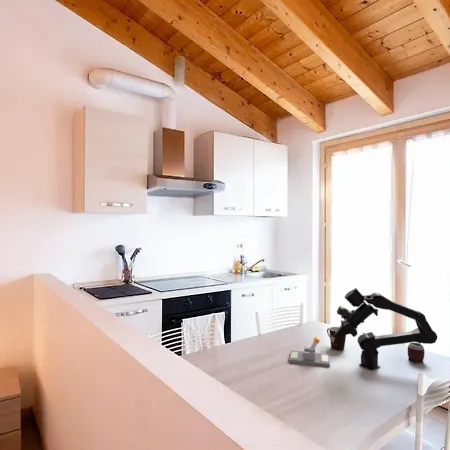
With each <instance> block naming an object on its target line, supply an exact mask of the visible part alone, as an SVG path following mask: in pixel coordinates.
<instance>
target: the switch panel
mask: <svg viewBox="0 0 450 450" xmlns="http://www.w3.org/2000/svg"><path fill="white" fill-rule="evenodd" d="M309 349H310V347H307V346H304V348H303V351H301V350H290V354H289V359H288V360H289V361H288V364H295V365H296V364H298V365H306V366H316V367H324V368H330V367H331V366H330V365H331V361H330V354H329V353H323V352H316V348H315V349H314V351H313V352H308V351H309Z"/></svg>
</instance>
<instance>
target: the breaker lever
mask: <svg viewBox="0 0 450 450" xmlns="http://www.w3.org/2000/svg"><path fill="white" fill-rule="evenodd" d="M320 341H321V338H320V337H319V336H318V335H317V336H316V335H315V336H314V338H313V342H312V343H311V345H310V347H309V348H310V349H309V351H308V352H313V351H314V349H315V350H316V347H317V345H319V343H320Z"/></svg>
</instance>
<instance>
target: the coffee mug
mask: <svg viewBox="0 0 450 450" xmlns="http://www.w3.org/2000/svg"><path fill="white" fill-rule="evenodd" d="M339 327H340V326H331V327H330V326H329V328H327V329H326V333H327V335H328V337H329V341H330V348H331V350H333V351H337V352H343V351H345V346H346V338H347V335H343V336H339V337H335V336H334V335H335V333H336V332H337V330H338V329H339Z"/></svg>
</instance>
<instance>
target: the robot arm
mask: <svg viewBox="0 0 450 450" xmlns="http://www.w3.org/2000/svg"><path fill="white" fill-rule="evenodd" d="M344 299H345V300H346V301H347V302H348V303H349V304H350V305H351V306H352V307H353V308H355V307H356V309H352V310H350V309H347V308H346V307H344V306H341V305H339V306H338V308H337V310H336V314H337V315H339V316H340V318H341V319H340V326H338V327H339V329H338V330H337V332H336V333H335V335H334V336H335V337H339V336H343V335H346V336H347V335H351V336H352V338H356V336H358V330H357V329H358V326H359V325H361V324H364V323H365V321H366V320H367V319H368V318H369V317H370V316H372V314H374V315H375V316H376V317H378V316H379V309H380V310H385V311H386V310H387V311H392V312H394V313H397V314H399V315H402V316H403V317H407V318H409V319H411V320H414V321H415V324H416V327H417V328H415V329H413V330H411V331H405V332H404V331H403V332H397V333H390V334H383V335H374V333H373V332H372V331H370V332H367V333H366V332H362V334H360V335H359V336H358V337H357V344H358V345H359V347H360V349H361V354H360V363H359V364H358V365H359V366H360V367H363V368H364V369H368V370H370V371H373V370H377V369H378V368H379V369H380V368H381V366H380V365H379V350H378V349H379V348H380V347H385V346H393V345H395V346H396V345H400V344H410V343H420V344H427V345H428V344H429V345H431V344H435V343H436V342H437V340H438V335H437V333H436V331H434V330H433V328H432V327H431V325H430V323H429V321H428V320H427V318H426V316H425V314H423V313H422V312H421V311H419V310H414V309H412V308H410V307H407V306H404V305H402V304H400V303H397V302H394V301H392V300H391V299H389V298H388V297H385V296H384V295H382V294H381V293H378V292H372V293H371V294H368V295H367V294H366V295H363V294H362V293H361V292H360V291H359V289H357V288H356V287H355V288H354V289H352V290H350V291H348V292H347V293H346V294H345V295H344ZM374 307H375V308H374ZM342 319H343V320H342Z"/></svg>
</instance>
